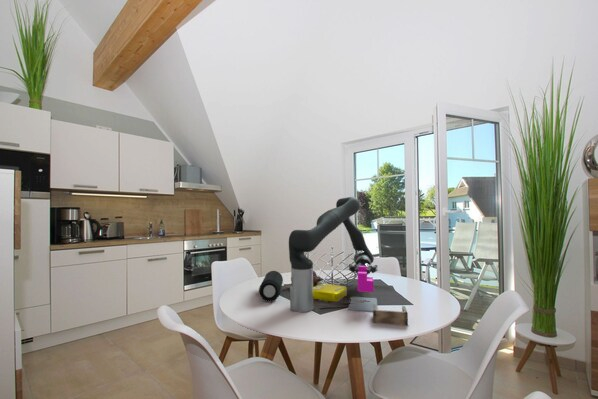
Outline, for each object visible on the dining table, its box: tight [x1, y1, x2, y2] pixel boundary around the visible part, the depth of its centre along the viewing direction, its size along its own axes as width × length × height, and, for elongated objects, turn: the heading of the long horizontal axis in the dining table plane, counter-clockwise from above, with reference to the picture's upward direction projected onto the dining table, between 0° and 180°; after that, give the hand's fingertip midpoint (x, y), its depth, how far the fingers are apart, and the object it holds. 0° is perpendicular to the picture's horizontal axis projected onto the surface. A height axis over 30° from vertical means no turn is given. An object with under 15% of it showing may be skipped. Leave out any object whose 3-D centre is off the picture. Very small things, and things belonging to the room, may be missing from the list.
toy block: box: [357, 266, 374, 293], centre depth 127 cm, size 15×6×8 cm, turn 167°
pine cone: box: [313, 270, 324, 287], centre depth 158 cm, size 18×10×10 cm, turn 83°
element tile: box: [313, 283, 348, 302], centre depth 142 cm, size 15×15×5 cm
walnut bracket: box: [372, 304, 409, 326], centre depth 110 cm, size 12×8×4 cm, turn 77°
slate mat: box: [347, 296, 379, 313], centre depth 129 cm, size 12×18×1 cm, turn 167°
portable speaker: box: [258, 270, 284, 302], centre depth 145 cm, size 26×10×10 cm, turn 0°
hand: (362, 271), depth 129 cm, fingers closed on toy block, 3 cm apart
